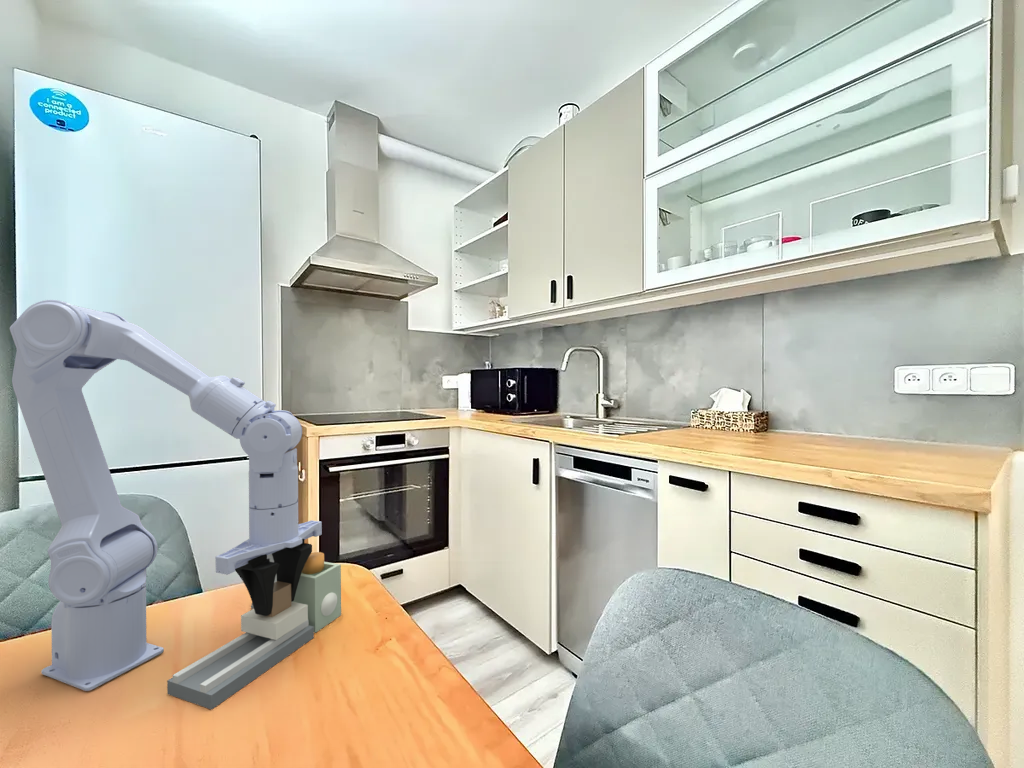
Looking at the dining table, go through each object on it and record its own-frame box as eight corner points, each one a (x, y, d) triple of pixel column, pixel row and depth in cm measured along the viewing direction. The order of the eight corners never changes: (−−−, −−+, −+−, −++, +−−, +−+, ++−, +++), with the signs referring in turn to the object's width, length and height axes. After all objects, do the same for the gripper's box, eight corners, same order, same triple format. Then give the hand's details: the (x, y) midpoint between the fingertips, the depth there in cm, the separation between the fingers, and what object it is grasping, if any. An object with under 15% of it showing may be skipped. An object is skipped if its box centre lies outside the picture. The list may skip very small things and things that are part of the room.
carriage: (241, 631, 57) (240, 592, 57) (274, 612, 61) (274, 576, 61) (276, 640, 55) (275, 599, 55) (307, 619, 59) (307, 582, 59)
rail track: (167, 694, 49) (167, 673, 49) (275, 628, 62) (274, 611, 62) (211, 709, 46) (211, 687, 46) (313, 637, 60) (313, 620, 60)
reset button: (296, 572, 63) (296, 558, 63) (313, 564, 66) (312, 551, 66) (313, 575, 62) (313, 561, 62) (328, 567, 65) (328, 553, 65)
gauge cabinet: (284, 625, 63) (284, 572, 63) (311, 608, 67) (311, 559, 67) (316, 633, 61) (315, 578, 61) (342, 615, 65) (341, 564, 65)
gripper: (245, 522, 50) (246, 643, 50) (338, 492, 63) (339, 587, 63) (202, 517, 52) (203, 631, 52) (300, 489, 66) (301, 580, 66)
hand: (275, 606), depth 58 cm, fingers closed on carriage, 3 cm apart
